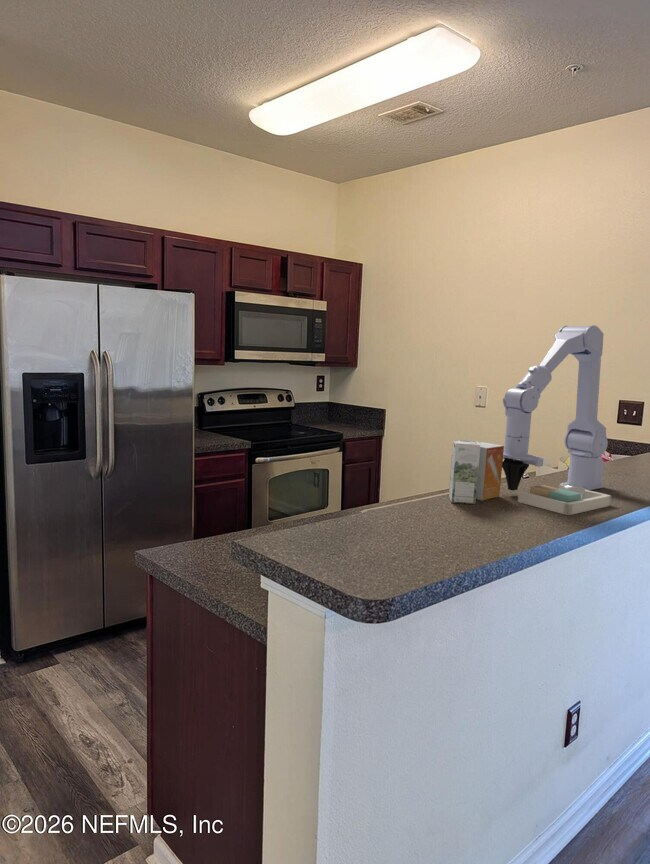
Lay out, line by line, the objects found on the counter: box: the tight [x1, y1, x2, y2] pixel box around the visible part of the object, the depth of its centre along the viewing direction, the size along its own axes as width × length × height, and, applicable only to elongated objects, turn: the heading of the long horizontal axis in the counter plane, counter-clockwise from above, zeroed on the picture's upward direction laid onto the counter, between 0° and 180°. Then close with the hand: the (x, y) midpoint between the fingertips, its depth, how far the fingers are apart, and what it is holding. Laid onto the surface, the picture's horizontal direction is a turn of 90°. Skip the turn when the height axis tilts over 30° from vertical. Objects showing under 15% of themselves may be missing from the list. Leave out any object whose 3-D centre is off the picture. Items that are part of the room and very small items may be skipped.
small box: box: [476, 441, 505, 501], centre depth 150 cm, size 8×6×13 cm
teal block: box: [549, 489, 581, 503], centre depth 142 cm, size 5×5×4 cm
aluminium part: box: [563, 484, 585, 500], centre depth 149 cm, size 5×5×4 cm
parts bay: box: [517, 483, 612, 516], centre depth 147 cm, size 18×13×2 cm
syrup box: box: [448, 439, 480, 505], centre depth 144 cm, size 6×6×14 cm
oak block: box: [529, 484, 559, 498], centre depth 146 cm, size 5×5×4 cm
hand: (512, 489), depth 154 cm, fingers closed
